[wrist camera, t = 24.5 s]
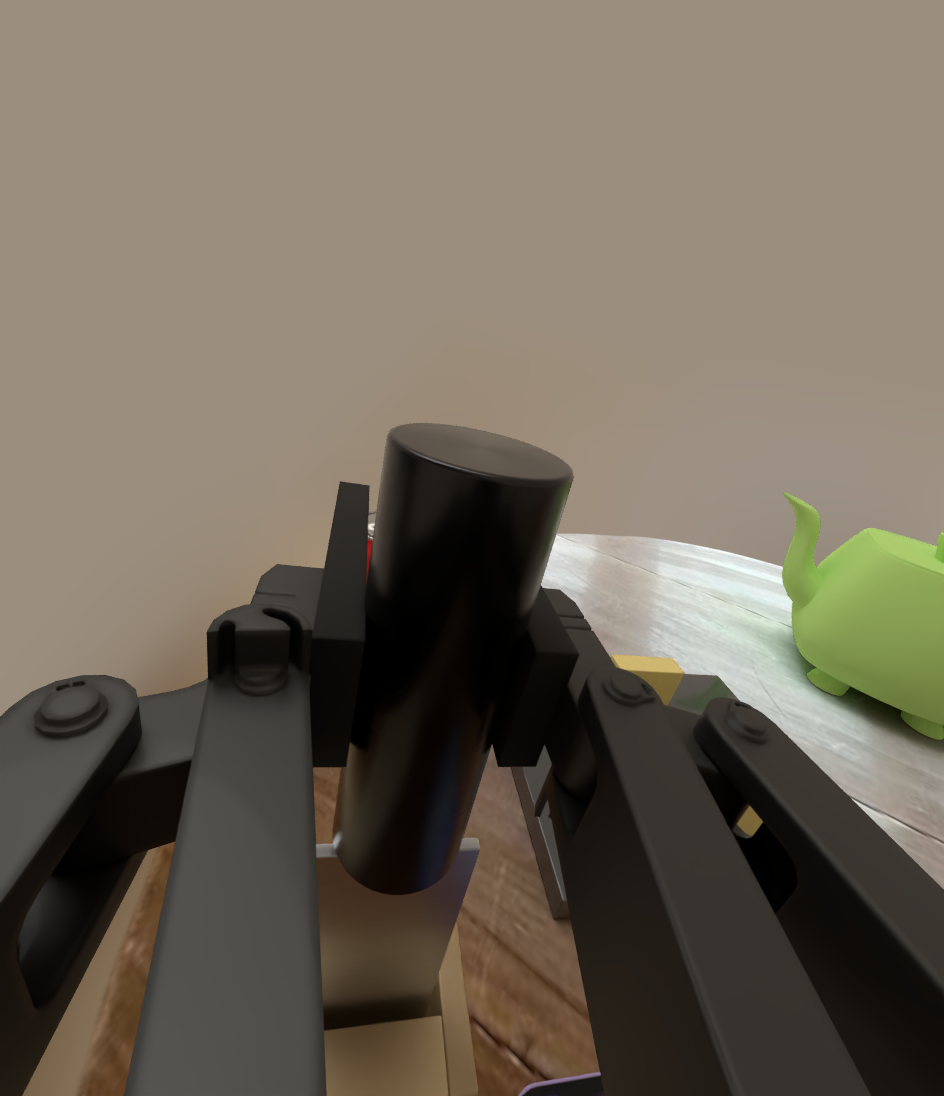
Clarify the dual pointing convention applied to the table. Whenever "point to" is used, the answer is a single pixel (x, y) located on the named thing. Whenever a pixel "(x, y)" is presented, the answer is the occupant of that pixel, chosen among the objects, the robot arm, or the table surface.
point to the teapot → (871, 617)
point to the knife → (428, 704)
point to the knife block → (409, 1046)
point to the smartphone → (567, 1086)
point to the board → (529, 783)
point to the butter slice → (653, 672)
